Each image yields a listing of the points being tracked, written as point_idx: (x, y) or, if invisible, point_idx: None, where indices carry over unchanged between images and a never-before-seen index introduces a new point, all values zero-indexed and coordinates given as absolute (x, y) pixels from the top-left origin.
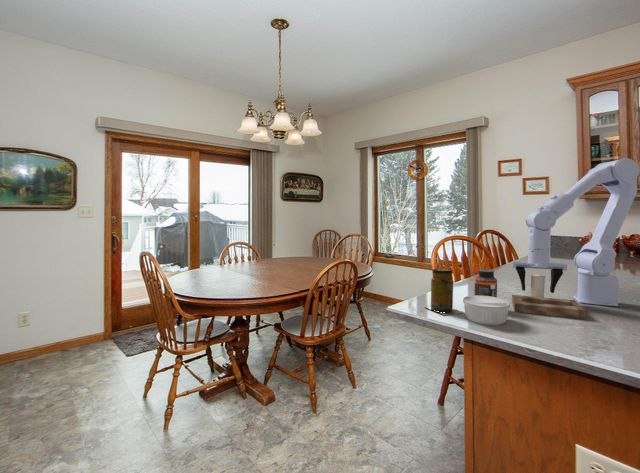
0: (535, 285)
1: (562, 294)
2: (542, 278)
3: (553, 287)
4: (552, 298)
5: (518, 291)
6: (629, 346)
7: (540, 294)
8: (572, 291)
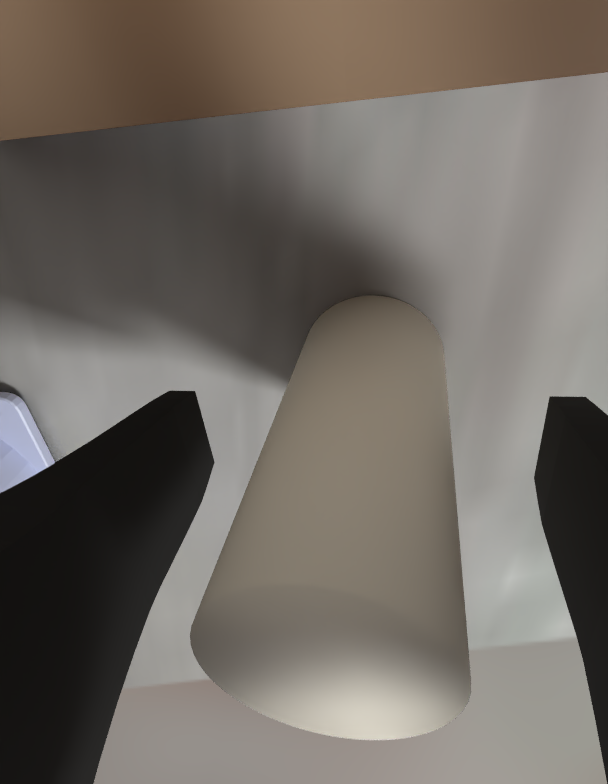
0: (395, 434)
1: (176, 610)
2: (241, 558)
3: (129, 427)
4: (163, 107)
5: (499, 630)
6: None
7: (330, 345)
8: (136, 676)
